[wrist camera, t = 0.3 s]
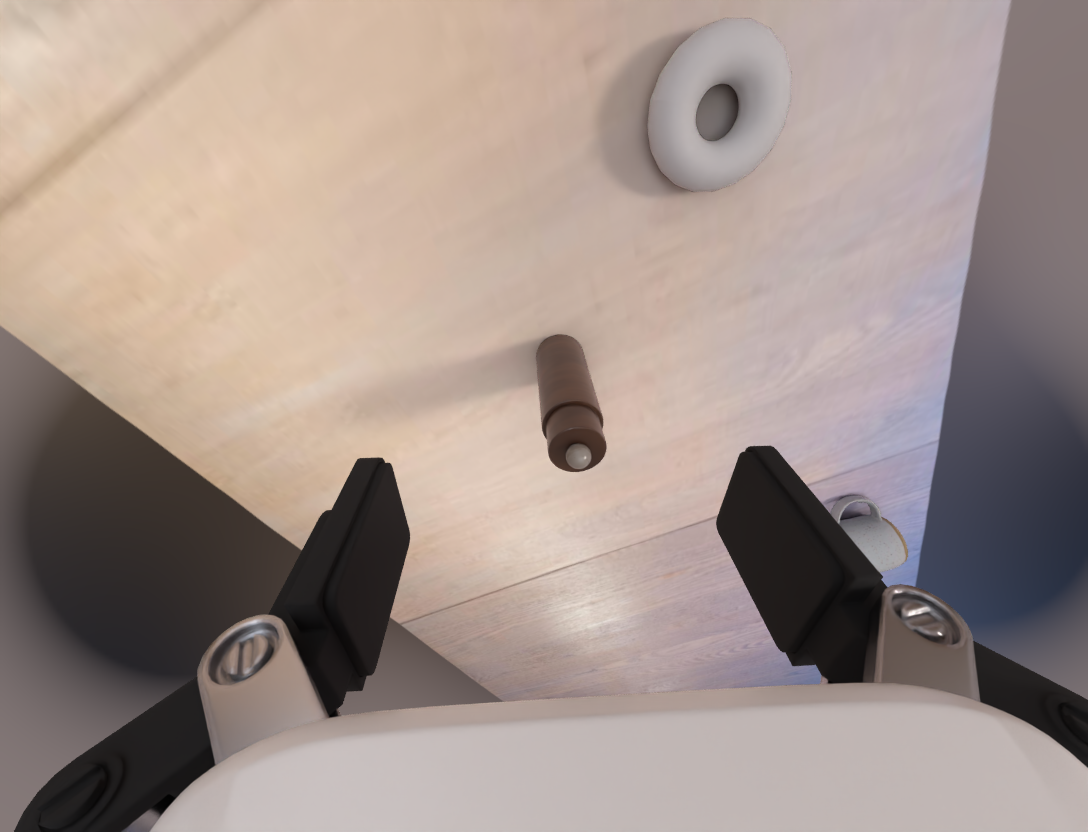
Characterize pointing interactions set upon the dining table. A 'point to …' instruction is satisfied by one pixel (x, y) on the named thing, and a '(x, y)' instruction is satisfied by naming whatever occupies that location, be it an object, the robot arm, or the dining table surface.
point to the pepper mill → (569, 405)
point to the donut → (698, 64)
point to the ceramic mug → (873, 534)
